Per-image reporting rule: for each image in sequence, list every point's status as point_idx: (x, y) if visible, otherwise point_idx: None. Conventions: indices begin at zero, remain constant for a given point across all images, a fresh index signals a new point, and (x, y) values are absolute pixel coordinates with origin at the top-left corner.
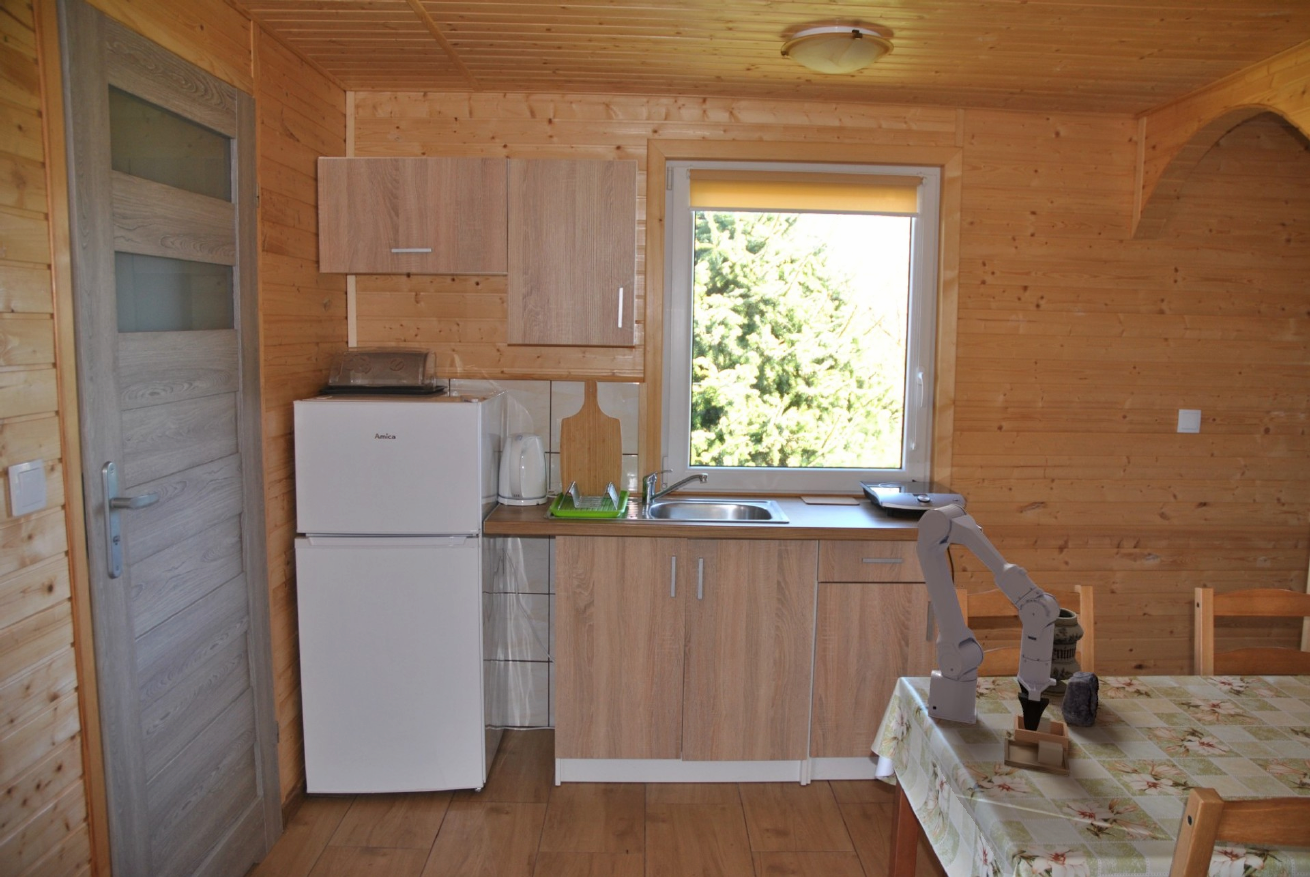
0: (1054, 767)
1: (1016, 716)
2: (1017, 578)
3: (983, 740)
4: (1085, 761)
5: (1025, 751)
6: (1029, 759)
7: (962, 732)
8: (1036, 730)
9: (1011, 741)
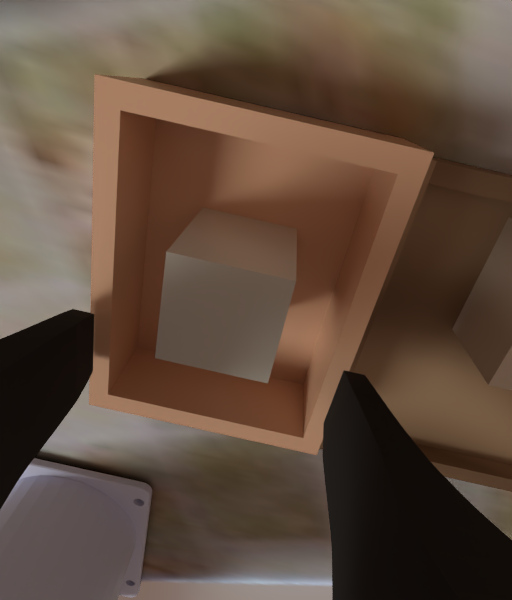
0: None
1: (121, 404)
2: None
3: (289, 484)
4: (507, 26)
5: (409, 373)
6: None
7: (230, 528)
8: (365, 377)
9: None
